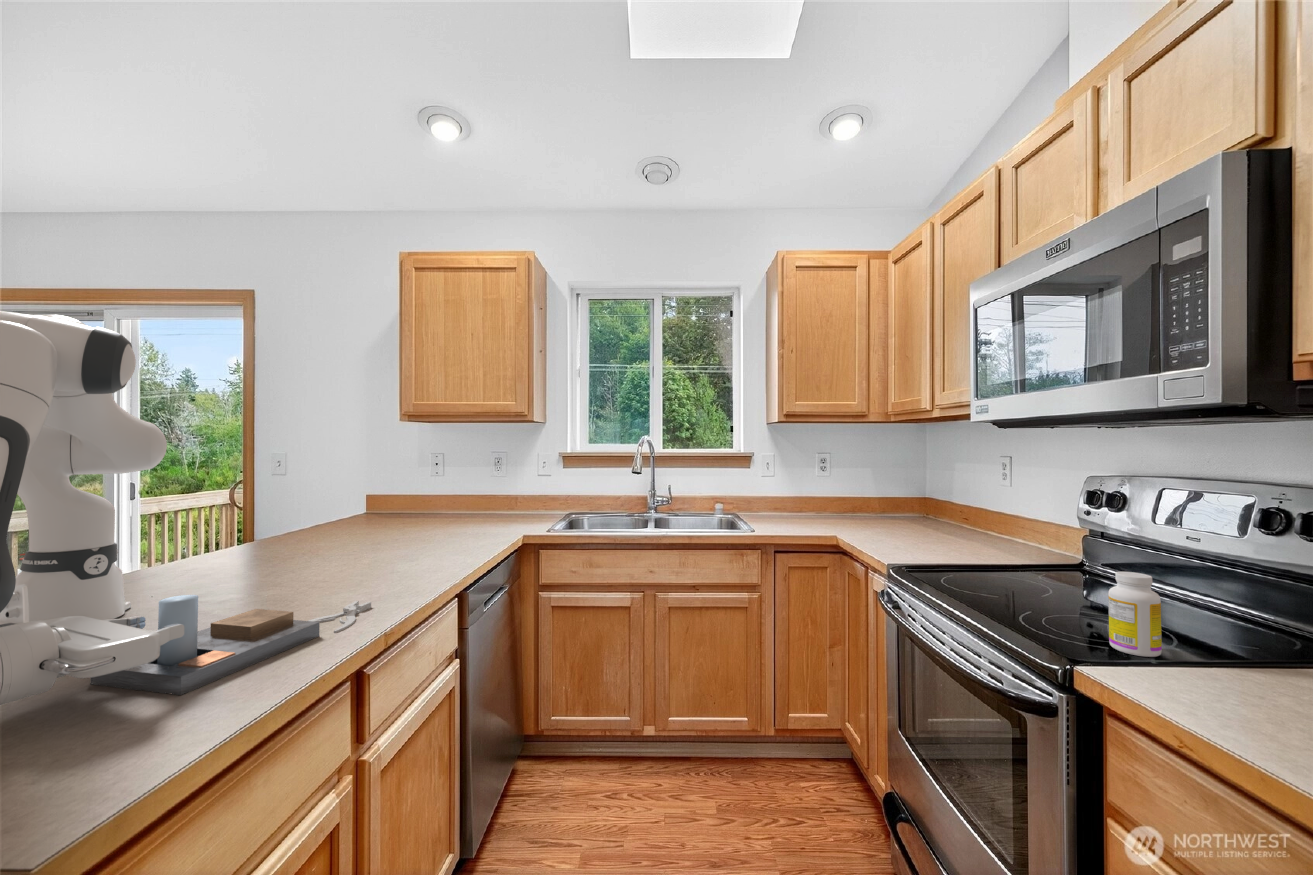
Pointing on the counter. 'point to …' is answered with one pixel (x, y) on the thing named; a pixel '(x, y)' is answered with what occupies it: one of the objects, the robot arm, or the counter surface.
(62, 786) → the counter surface
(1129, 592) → the supplement bottle
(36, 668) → the robot arm
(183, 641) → the peg
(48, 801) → the counter surface
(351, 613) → the pliers
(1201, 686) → the counter surface
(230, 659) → the rack
